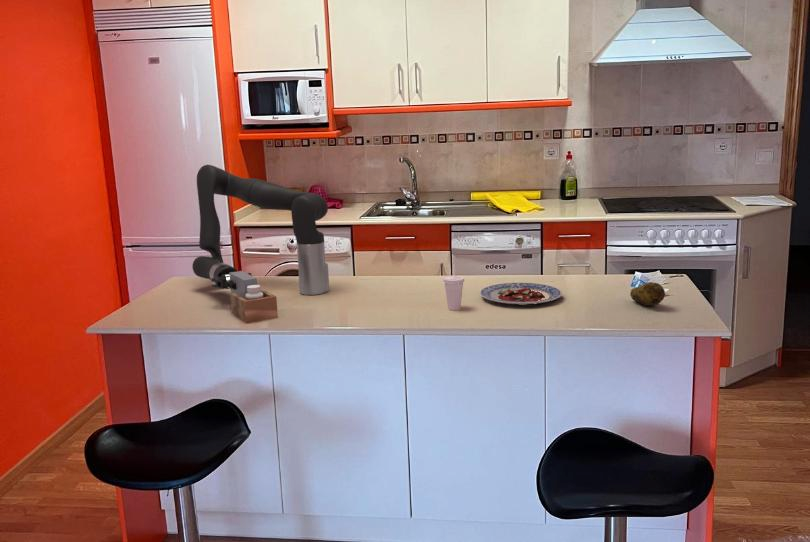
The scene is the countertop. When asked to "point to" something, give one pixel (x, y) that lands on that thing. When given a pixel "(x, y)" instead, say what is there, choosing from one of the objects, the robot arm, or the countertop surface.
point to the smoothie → (454, 290)
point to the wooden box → (254, 307)
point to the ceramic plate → (520, 293)
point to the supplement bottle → (253, 292)
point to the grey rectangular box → (242, 282)
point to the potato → (648, 293)
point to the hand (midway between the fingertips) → (242, 285)
